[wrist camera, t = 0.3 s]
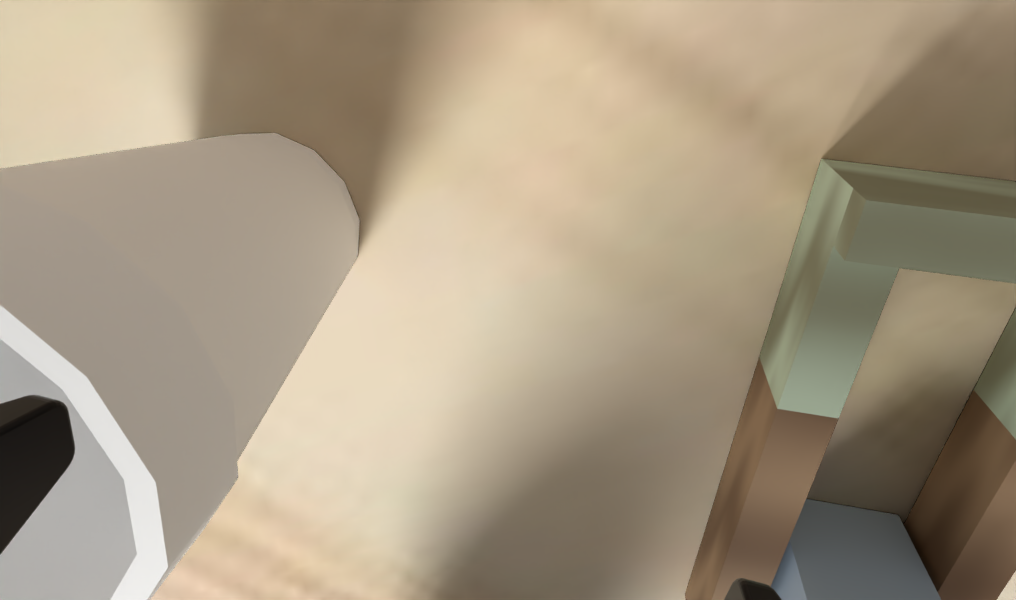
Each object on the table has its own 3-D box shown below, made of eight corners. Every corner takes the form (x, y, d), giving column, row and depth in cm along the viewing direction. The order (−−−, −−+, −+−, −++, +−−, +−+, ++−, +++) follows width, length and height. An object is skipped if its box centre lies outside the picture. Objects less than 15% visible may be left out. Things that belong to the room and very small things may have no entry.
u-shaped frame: (895, 635, 27) (936, 734, 23) (685, 594, 28) (693, 683, 24) (1147, 196, 18) (1276, 250, 14) (821, 158, 19) (866, 200, 15)
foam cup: (260, 364, 26) (-31, 668, 14) (105, 165, 23) (-417, 350, 11) (451, 275, 23) (269, 580, 11) (298, 29, 20) (-165, 99, 8)
